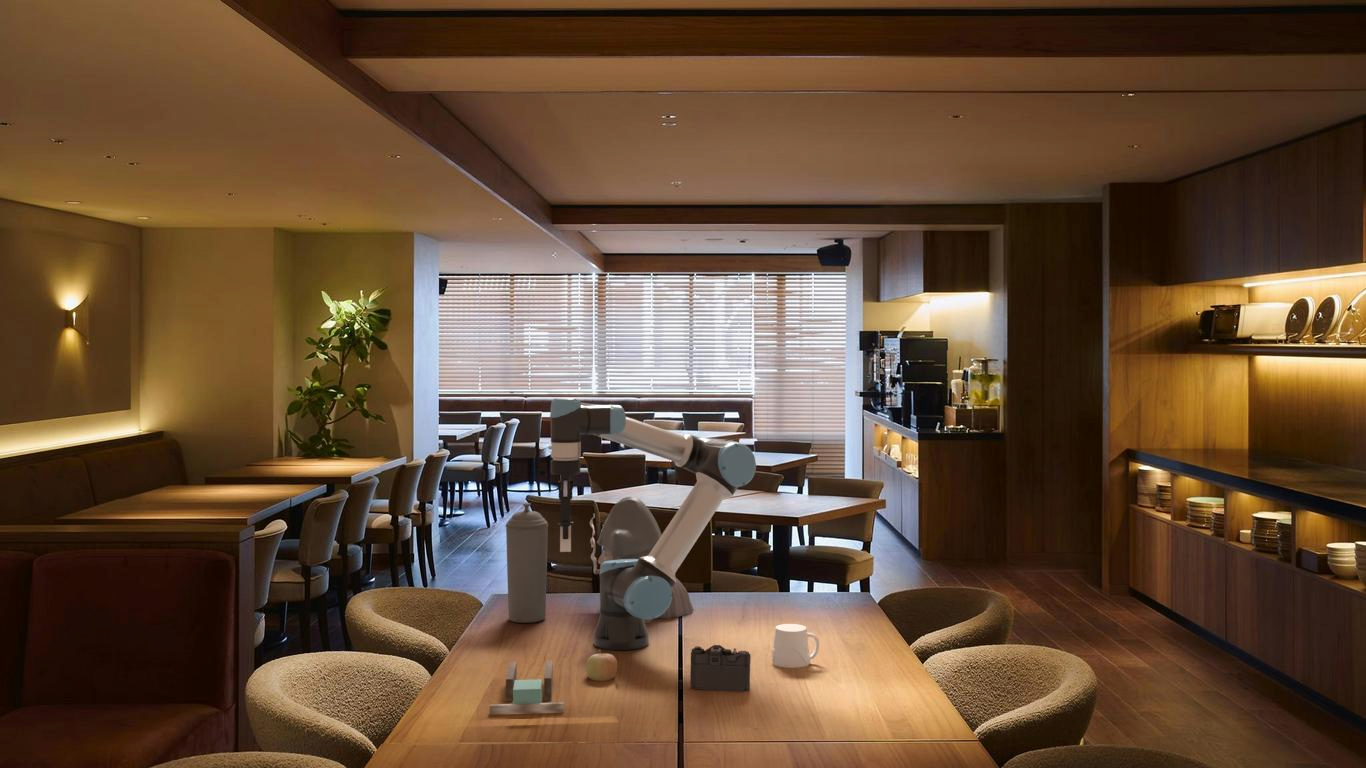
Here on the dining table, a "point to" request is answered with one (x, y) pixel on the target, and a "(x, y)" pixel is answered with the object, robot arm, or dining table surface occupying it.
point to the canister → (527, 566)
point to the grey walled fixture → (528, 707)
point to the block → (527, 691)
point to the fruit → (601, 667)
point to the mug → (792, 646)
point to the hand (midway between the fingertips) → (565, 551)
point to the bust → (635, 545)
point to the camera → (720, 669)
